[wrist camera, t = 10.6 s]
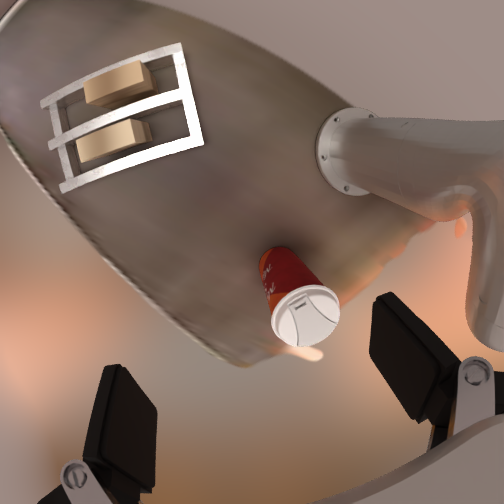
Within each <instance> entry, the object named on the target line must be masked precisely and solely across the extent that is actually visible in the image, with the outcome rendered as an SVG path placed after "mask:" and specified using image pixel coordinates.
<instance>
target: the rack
mask: <svg viewBox="0 0 504 504" xmlns="http://www.w3.org/2000/svg"><path fill="white" fill-rule="evenodd" d="M139 59H140V61H141V62H142V63H143V64H144V65H145V66H146V68H147V69H148V70H149V71H150V72H151V71H154V70H157V69H161V68H164V67H167V66H171V65H175V68H176V73H177V77H178V82H179V86H180V89H177V90H173V91H170V92H166V93H163V94H160V95H157V96H153V97H150V98H147V99H144V100H141V101H138V102H136V103H133V104H130V105H127V106H125V107H122V108H119V109H117V110H114V111H112V112H109V113H107V114H104V115H102V116H100V117H97V118H95V119H93V120H90V121H88V122H86V123H84V124H82V125H80V126H77V127H75V128H73V129H71V130H70V129H69V124H68V119H67V114H66V109H65V107H66V106H68V105H70V104H72V103H74V102H76V101H78V100H80V99H83V98H85V92H84V86H83V82H85V81H87V80H89V79H92V78H94V77H96V76H98V75H101V74H103V73H105V72H108V71H110V70H113V69H115V68H118V67H120V66H123V65H125V64H128V63H131V62H134V61H137V60H139ZM40 104H41V109H42V110H50V114H51V119H52V125H53V129H54V134H55V138H54V139H52V140H50V141H48V146H49V150H50V151H52V150H57V149H58V151H59V155H60V159H61V163H62V167H63V170H64V174H65V177H66V182H63V183H61V184H59V187H60V190H61V193H62V194H63V193H65V192H67V191H69V190H72V189H74V188H76V187H79V186H81V185H83V184H86V183H88V182H91V181H93V180H96V179H98V178H101V177H103V176H106V175H108V174H111V173H114V172H116V171H119V170H122V169H125V168H128V167H130V166H133V165H136V164H139V163H142V162H145V161H148V160H151V159H154V158H158V157H161V156H164V155H167V154H171V153H174V152H177V151H181V150H184V149H188V148H192V147H195V146H199V145H203V144H204V141H203V137H202V133H201V129H200V125H199V120H198V116H197V112H196V108H195V103H194V99H193V95H192V90H191V86H190V81H189V77H188V73H187V68H186V64H185V59H184V54H183V50H182V46H181V43H177V44H173V45H169V46H166V47H162V48H159V49H155V50H152V51H149V52H146V53H143V54H140V55H137V56H134V57H131V58H129V59H126V60H123V61H121V62H118V63H115V64H113V65H110V66H108V67H106V68H103V69H101V70H99V71H96V72H94V73H92V74H90V75H88V76H85V77H83V78H81V79H79V80H77V81H75V82H73V83H71V84H69V85H67V86H65V87H64V88H62V89H60V90H58V91H56V92H54V93H53V94H51V95H49V96H47V97H46V98H44V99H42V100H41V101H40ZM182 104H184V108H185V112H186V117H187V121H188V125H189V129H190V133H191V137H187V138H184V139H180V140H177V141H173V142H170V143H166V144H163V145H160V146H157V147H154V148H151V149H147V150H144V151H141V152H139V153H136V154H133V155H130V156H127V157H124V158H122V159H119V160H116V161H114V162H111V163H108V164H106V165H103V166H101V167H98V168H96V169H93V170H91V171H88V172H86V173H84V174H81V172H80V169H79V165H78V161H77V158H76V154H75V150H74V146H73V144H76V140H78V139H80V138H82V137H85V136H87V135H89V134H92V133H94V132H96V131H99V130H101V129H104V128H106V127H109V126H111V125H114V124H117V123H119V122H122V121H125V120H128V119H137V118H140V117H143V116H146V115H149V114H152V113H155V112H158V111H161V110H165V109H168V108H171V107H175V106H178V105H182Z"/></svg>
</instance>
